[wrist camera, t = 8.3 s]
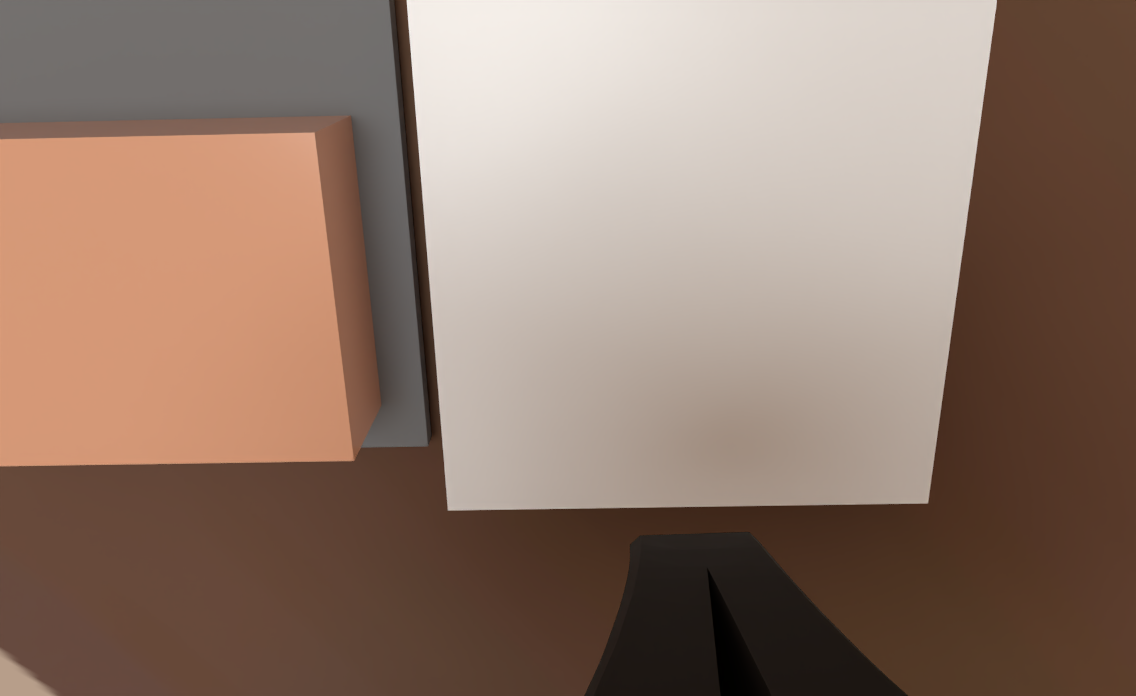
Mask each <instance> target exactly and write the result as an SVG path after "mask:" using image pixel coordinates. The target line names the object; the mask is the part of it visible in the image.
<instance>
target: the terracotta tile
mask: <svg viewBox="0 0 1136 696" xmlns="http://www.w3.org/2000/svg"><path fill="white" fill-rule="evenodd" d="M380 407H381V396H380V387H379V377H378V368H377V358H376V349H375V339H374V330H373V320H372V311H371V301H370V292H369V282H368V273H367V263H366V254H365V244H364V235H363V225H362V216H361V206H360V197H359V187H358V178H357V168H356V159H355V149H354V140H353V130H352V121H351V115H350V116H304V117H258V118H212V119H166V120H120V121H74V122H28V123H0V466H49V465H115V464H182V463H248V462H314V461H354V460H355V458H356V456H357V454H358V452H359V450H360V448H361V446H362V444H363V442H364V440H365V438H366V436H367V434H368V432H369V430H370V427H371V425H372V423H373V421H374V419H375V417H376V415H377V413H378V411H379V409H380Z"/></svg>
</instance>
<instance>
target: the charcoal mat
mask: <svg viewBox="0 0 1136 696" xmlns="http://www.w3.org/2000/svg"><path fill="white" fill-rule="evenodd" d="M350 115H351V121H352V130H353V140H354V149H355V159H356V168H357V178H358V187H359V197H360V206H361V216H362V225H363V235H364V244H365V254H366V263H367V273H368V282H369V292H370V301H371V311H372V320H373V330H374V339H375V349H376V358H377V368H378V377H379V387H380V396H381V407H380V409H379V411H378V413H377V415H376V417H375V419H374V421H373V423H372V425H371V427H370V430H369V432H368V434H367V436H366V438H365V440H364V442H363V444H362V446H361V447H417V446H428V445H429V442H430V439H431V425H430V413H429V401H428V390H427V378H426V366H425V355H424V343H423V331H422V320H421V308H420V296H419V284H418V273H417V261H416V249H415V238H414V226H413V214H412V203H411V191H410V179H409V168H408V156H407V144H406V132H405V121H404V109H403V97H402V86H401V74H400V62H399V51H398V39H397V27H396V16H395V4H394V0H0V123H28V122H74V121H120V120H166V119H212V118H258V117H304V116H350Z"/></svg>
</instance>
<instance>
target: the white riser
mask: <svg viewBox="0 0 1136 696" xmlns="http://www.w3.org/2000/svg"><path fill="white" fill-rule="evenodd" d="M996 3H997V0H407V10H408V23H409V35H410V47H411V60H412V72H413V84H414V97H415V109H416V121H417V134H418V146H419V159H420V171H421V183H422V196H423V208H424V220H425V233H426V245H427V257H428V270H429V282H430V295H431V307H432V319H433V332H434V344H435V356H436V369H437V381H438V393H439V406H440V418H441V430H442V443H443V455H444V468H445V480H446V492H447V505H448V510H514V509H581V508H649V507H717V506H785V505H853V504H921V503H928V499H929V492H930V485H931V478H932V470H933V463H934V456H935V448H936V441H937V434H938V427H939V419H940V412H941V405H942V397H943V390H944V383H945V375H946V368H947V361H948V354H949V346H950V339H951V332H952V324H953V317H954V310H955V303H956V295H957V288H958V281H959V273H960V266H961V259H962V251H963V244H964V237H965V230H966V222H967V215H968V208H969V200H970V193H971V186H972V179H973V171H974V164H975V157H976V149H977V142H978V135H979V127H980V120H981V113H982V106H983V98H984V91H985V84H986V76H987V69H988V62H989V55H990V47H991V40H992V33H993V25H994V18H995V11H996Z"/></svg>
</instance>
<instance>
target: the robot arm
mask: <svg viewBox="0 0 1136 696" xmlns="http://www.w3.org/2000/svg"><path fill="white" fill-rule="evenodd" d="M585 696H908V695H907V694H905V693H904V692H903V691H902V690H901V689H900V688H899V687H898V686H897V685H895V684H894V683H893V682H892V681H891V680H890V679H889V678H888V677H887V676H886V675H885V674H883V673H882V672H881V671H880V670H879V669H878V668H877V667H876V666H875V665H874V664H873V663H872V662H871V661H870V660H869V659H868V658H867V657H866V656H865V655H864V654H863V653H862V652H861V651H860V650H859V649H858V648H857V647H856V646H855V645H854V644H853V643H852V642H851V641H850V640H849V639H848V638H847V637H846V636H845V635H844V634H843V633H842V632H841V631H840V630H839V629H838V628H837V627H836V626H835V625H834V624H833V623H832V622H831V621H830V620H829V619H828V618H827V617H826V616H825V615H824V614H823V613H822V612H821V611H820V610H819V609H818V608H817V607H816V606H815V605H814V603H813V602H812V601H811V600H810V599H809V598H808V597H807V596H806V595H805V594H804V593H803V591H802V590H801V589H800V588H799V587H798V586H797V585H796V584H795V583H794V582H793V580H792V579H791V578H790V577H789V576H788V575H787V574H786V572H785V571H784V570H783V569H782V568H781V567H780V566H779V564H778V563H777V562H776V561H775V560H774V559H773V558H772V556H771V555H770V554H769V553H768V552H767V551H766V549H765V548H764V547H763V546H762V545H761V544H760V542H759V541H758V540H757V539H756V538H755V537H754V536H752V535H751V534H750V533H749V532H735V533H704V534H674V535H643V536H639V537H638V538H637V539H636V540H635V541H633V542H632V543H631V544H630V565H629V572H628V577H627V582H626V586H625V590H624V594H623V597H622V601H621V605H620V608H619V611H618V614H617V617H616V620H615V622H614V625H613V628H612V631H611V634H610V637H609V639H608V642H607V645H606V648H605V651H604V653H603V656H602V658H601V661H600V663H599V665H598V667H597V670H596V672H595V674H594V676H593V678H592V681H591V683H590V685H589V687H588V689H587V691H586V694H585Z"/></svg>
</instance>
